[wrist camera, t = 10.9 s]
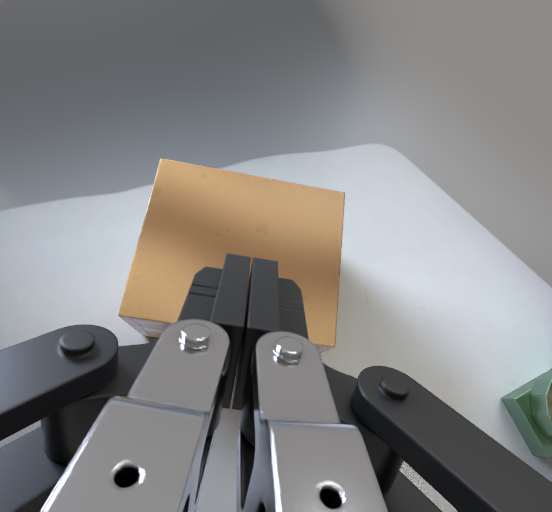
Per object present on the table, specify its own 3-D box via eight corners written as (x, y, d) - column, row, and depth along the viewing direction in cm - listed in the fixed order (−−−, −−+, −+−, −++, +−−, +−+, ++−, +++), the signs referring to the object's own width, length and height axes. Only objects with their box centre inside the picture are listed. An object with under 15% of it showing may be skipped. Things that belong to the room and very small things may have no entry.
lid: (161, 163, 28) (160, 157, 27) (342, 196, 29) (345, 192, 29) (120, 317, 24) (117, 315, 23) (332, 348, 25) (335, 347, 24)
